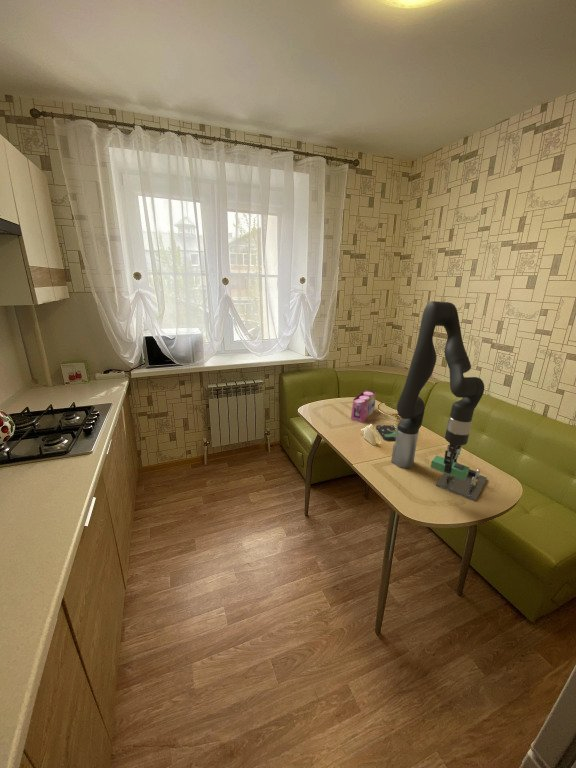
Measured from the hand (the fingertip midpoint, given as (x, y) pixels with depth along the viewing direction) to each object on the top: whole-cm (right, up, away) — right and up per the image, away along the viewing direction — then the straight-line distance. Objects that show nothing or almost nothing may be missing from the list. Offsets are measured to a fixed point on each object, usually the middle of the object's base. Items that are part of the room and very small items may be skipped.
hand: (449, 469), depth 121 cm
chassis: (+13, -10, +15) cm, 22 cm away
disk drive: (-5, +3, +58) cm, 58 cm away
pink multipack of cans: (-14, +12, +83) cm, 85 cm away
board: (0, -1, 0) cm, 1 cm away
